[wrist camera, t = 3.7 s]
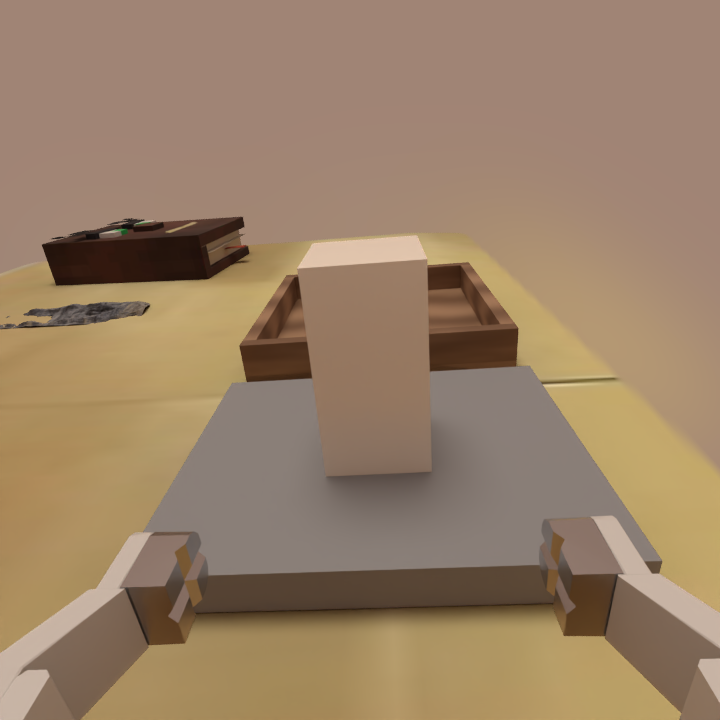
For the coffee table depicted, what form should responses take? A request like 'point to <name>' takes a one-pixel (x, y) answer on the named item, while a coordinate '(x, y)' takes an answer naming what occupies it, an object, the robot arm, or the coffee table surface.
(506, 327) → the box
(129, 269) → the decorative book
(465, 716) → the coffee table surface
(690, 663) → the robot arm
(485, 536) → the board
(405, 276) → the tall cream pillar block
